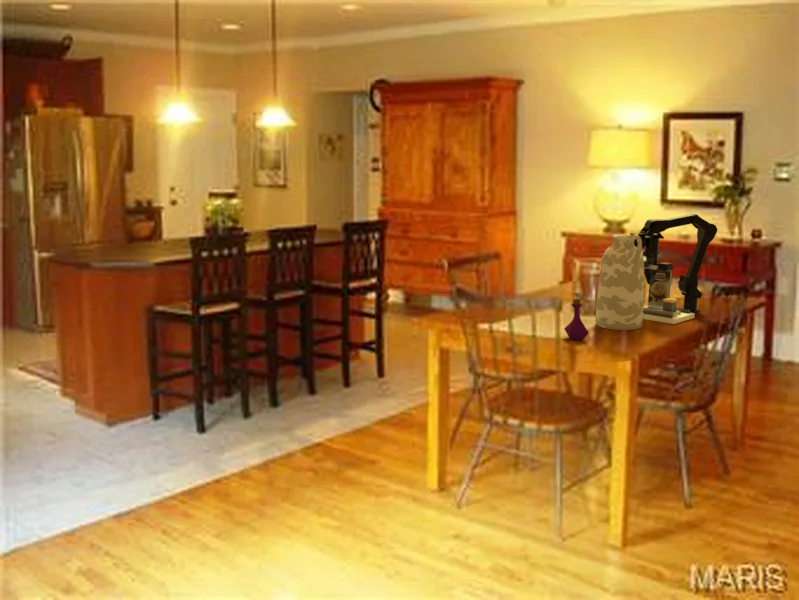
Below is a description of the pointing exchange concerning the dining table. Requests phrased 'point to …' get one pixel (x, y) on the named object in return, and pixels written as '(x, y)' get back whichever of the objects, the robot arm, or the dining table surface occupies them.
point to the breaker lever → (669, 304)
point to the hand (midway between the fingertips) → (649, 284)
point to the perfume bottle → (576, 322)
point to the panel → (666, 314)
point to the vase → (621, 285)
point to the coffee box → (660, 287)
